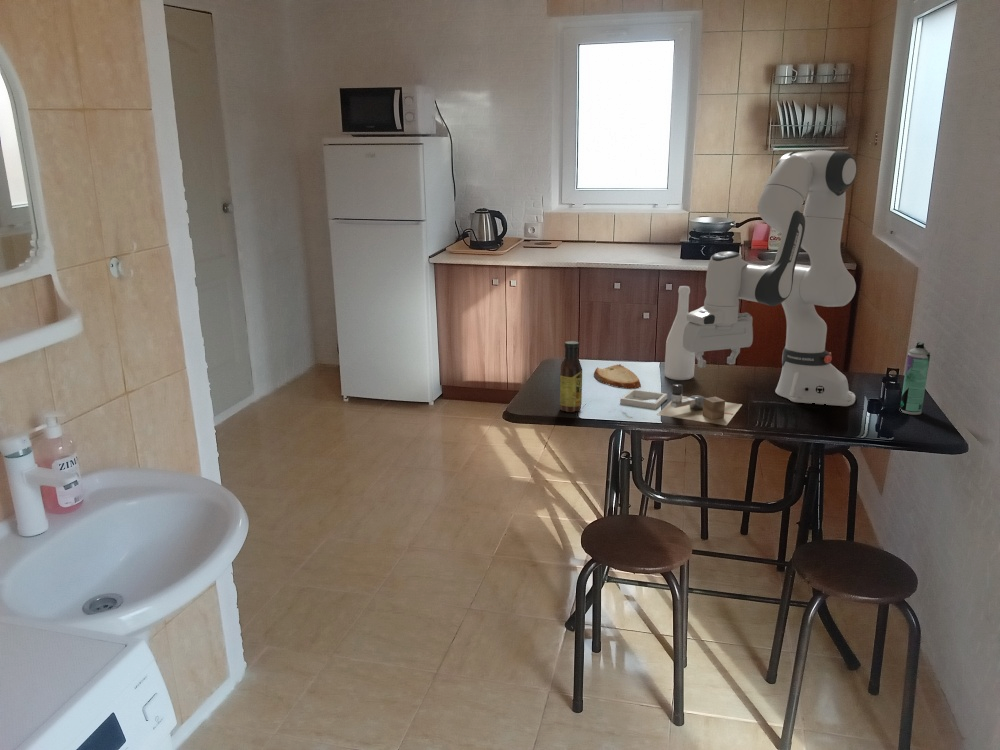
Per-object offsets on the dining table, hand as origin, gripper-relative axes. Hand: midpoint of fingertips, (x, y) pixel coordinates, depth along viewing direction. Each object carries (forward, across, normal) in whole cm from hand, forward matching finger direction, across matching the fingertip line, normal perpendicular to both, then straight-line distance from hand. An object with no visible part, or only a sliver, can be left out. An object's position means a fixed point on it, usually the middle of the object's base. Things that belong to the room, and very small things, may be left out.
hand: (716, 365), depth 204 cm
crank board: (+16, -1, -7) cm, 18 cm away
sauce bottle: (+17, +31, -24) cm, 43 cm away
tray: (+16, +10, -20) cm, 27 cm away
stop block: (+15, 0, 0) cm, 15 cm away
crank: (+14, +3, -7) cm, 16 cm away
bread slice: (+17, +2, -47) cm, 50 cm away
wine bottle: (+16, -18, -42) cm, 48 cm away
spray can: (+16, -58, +14) cm, 61 cm away
